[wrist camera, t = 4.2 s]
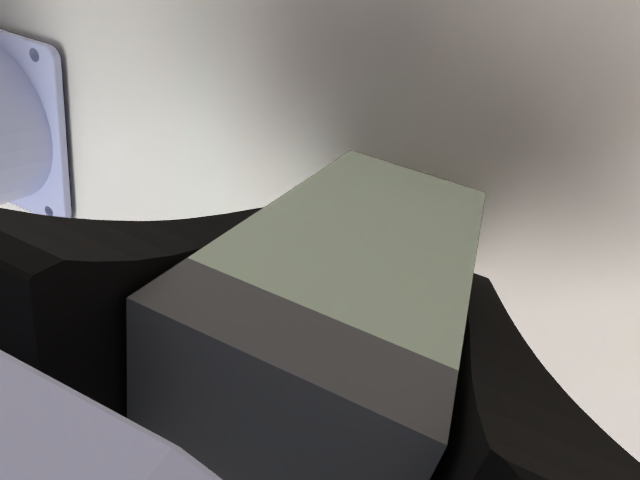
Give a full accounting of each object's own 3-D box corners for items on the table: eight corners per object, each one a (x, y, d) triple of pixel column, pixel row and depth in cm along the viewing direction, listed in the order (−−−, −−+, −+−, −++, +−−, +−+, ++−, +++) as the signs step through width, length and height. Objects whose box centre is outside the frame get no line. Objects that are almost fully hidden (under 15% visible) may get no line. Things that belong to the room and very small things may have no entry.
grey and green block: (323, 263, 15) (127, 493, 7) (350, 150, 13) (125, 297, 5) (438, 308, 14) (353, 627, 6) (485, 192, 12) (447, 445, 4)
